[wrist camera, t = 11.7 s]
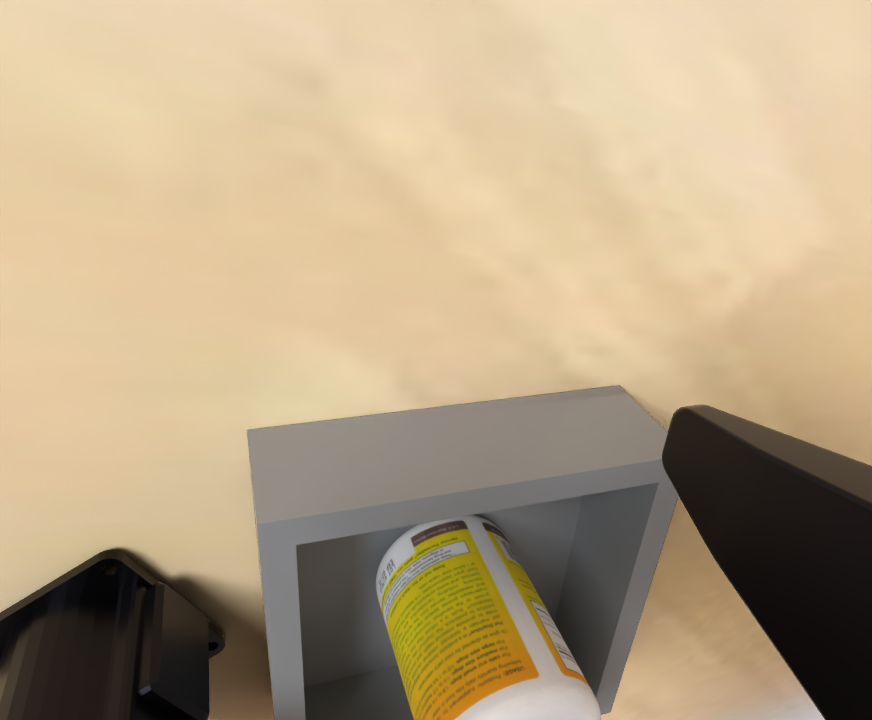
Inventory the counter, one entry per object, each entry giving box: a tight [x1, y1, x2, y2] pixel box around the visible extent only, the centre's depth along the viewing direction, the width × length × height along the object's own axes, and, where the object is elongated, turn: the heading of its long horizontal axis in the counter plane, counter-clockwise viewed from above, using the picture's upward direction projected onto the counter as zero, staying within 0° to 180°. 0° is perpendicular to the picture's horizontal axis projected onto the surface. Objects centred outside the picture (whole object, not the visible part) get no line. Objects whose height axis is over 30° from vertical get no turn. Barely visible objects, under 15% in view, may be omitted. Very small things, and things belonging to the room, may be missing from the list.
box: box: [247, 385, 679, 720], centre depth 25 cm, size 14×14×4 cm
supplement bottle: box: [376, 515, 601, 720], centre depth 22 cm, size 6×6×10 cm
